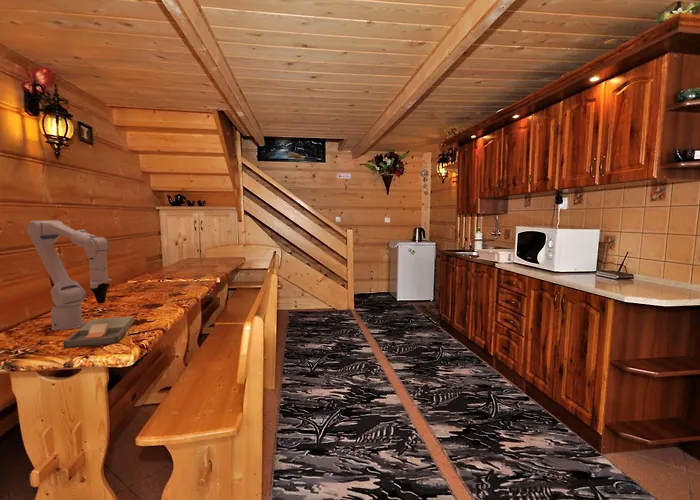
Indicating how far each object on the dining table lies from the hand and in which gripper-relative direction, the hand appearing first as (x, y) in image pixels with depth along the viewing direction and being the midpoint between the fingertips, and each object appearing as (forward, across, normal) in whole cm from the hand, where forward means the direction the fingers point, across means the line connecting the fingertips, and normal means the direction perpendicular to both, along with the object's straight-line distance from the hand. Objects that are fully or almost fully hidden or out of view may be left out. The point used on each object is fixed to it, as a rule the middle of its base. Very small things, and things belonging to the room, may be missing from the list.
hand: (101, 303), depth 146 cm
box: (+10, -14, -2) cm, 17 cm away
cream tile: (+9, -10, -2) cm, 14 cm away
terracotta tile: (+10, -16, -2) cm, 19 cm away
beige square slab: (+10, -1, -2) cm, 11 cm away
